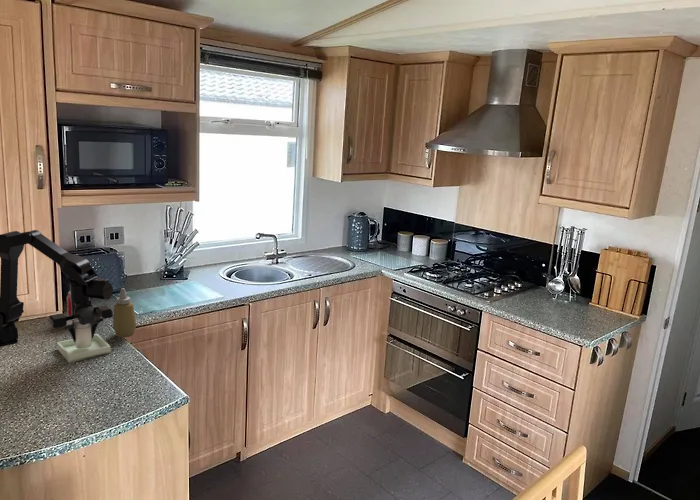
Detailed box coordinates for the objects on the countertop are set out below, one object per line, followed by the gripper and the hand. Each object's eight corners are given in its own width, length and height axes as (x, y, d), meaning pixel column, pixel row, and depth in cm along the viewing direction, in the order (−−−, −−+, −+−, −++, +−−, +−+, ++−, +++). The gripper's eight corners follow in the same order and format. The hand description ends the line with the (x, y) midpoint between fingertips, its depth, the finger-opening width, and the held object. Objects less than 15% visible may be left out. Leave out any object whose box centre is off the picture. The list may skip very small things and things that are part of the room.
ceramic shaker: (77, 349, 181) (76, 324, 179) (73, 344, 185) (71, 319, 182) (94, 346, 184) (92, 321, 182) (89, 341, 188) (87, 316, 186)
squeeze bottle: (140, 331, 204) (138, 285, 200) (132, 339, 196) (130, 292, 192) (118, 330, 203) (115, 284, 199) (109, 338, 196) (107, 291, 191)
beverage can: (68, 318, 212) (66, 289, 209) (90, 316, 215) (88, 287, 213) (68, 326, 205) (66, 296, 202) (91, 323, 209) (89, 294, 206)
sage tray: (68, 362, 176) (68, 355, 175) (57, 349, 185) (57, 342, 185) (110, 353, 185) (110, 346, 184) (97, 340, 194) (97, 333, 193)
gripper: (56, 308, 168) (59, 355, 172) (117, 298, 181) (119, 341, 184) (46, 298, 176) (50, 343, 180) (106, 289, 189) (108, 331, 192)
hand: (83, 339), depth 184 cm, fingers closed on ceramic shaker, 5 cm apart
